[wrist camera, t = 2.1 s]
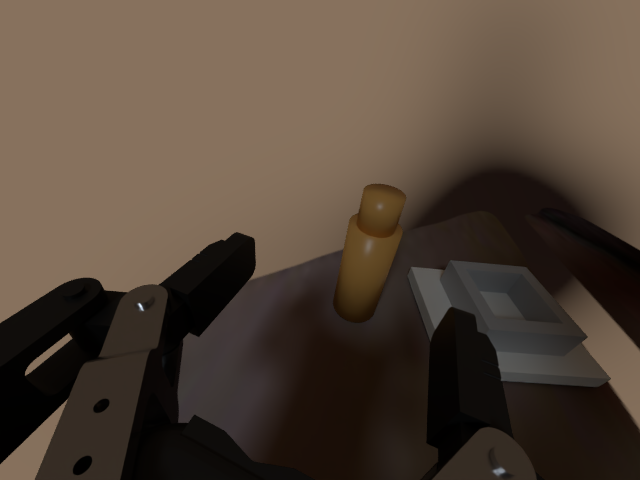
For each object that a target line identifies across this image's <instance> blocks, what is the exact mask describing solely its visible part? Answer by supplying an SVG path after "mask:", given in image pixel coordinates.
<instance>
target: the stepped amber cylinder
mask: <svg viewBox="0 0 640 480" xmlns="http://www.w3.org/2000/svg"><path fill="white" fill-rule="evenodd" d="M405 201H406V195H405V194H404V193H403V192H402V191H401V190H398V189H397V188H395V187H392V186H389V185H384V184H371V185H367V186H366V187H365V188H364V191H363V196H362V199H361V204H360V209H359V213H358V214H355V215H353V216H352V217H351V218H350V220H349V225H348V231H347V235H346V240H345V246H344V250H343V255H342V260H341V265H340V270H339V275H338V280H337V285H336V290H335V295H334V300H333V306H334V309H335V311H336V312H337V313H338V315H339V316H341V317H342V318H344V319H345V320H347V321H350V322H355V323H360V322H365V321H367V320H369V319H370V318H371V317H372V316H373V314H374V312H375V309H376V306H377V304H378V301H379V298H380V295H381V292H382V290H383V287H384V284H385V281H386V278H387V276H388V273H389V270H390V267H391V265H392V262H393V259H394V256H395V253H396V251H397V248H398V245H399V242H400V239H401V237H402V233H403V231H402V228H401V226H400V225H399V224H398V221H399V218H400V215H401V212H402V209H403V207H404V204H405Z"/></svg>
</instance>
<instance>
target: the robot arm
mask: <svg viewBox="0 0 640 480" xmlns="http://www.w3.org/2000/svg"><path fill="white" fill-rule="evenodd" d="M255 266H256V260H255V240H254V238H252V237H250V236H247V235H244V234H241V233H238V232H236V233H234V234H233V235H231V236H230V237H229V238H228V239H227V240H225V241H224V240H220V241H218V242H215V243H213V244H210V245H208V246H207V247H206V248H205V249H203V250H202V251H201V252H200V254H197V255H196V256H195V257H193V258H192V260H190V261H188V262H187V263H186V264H185V265H183V266H182V267H181V268H180V269H178V270H177V271H176V272H174V273H173V274H172V275H171V276H170V277H168V278H167V279H166V280H164V281H163V282H162V283H161V284H159V285H153V284H152V285H144V286H140V287H137V288H135V289H133V290H131V291H130V292H116V291H105V290H104V289H103V287H102V285H101V283H100V282H99V281H98V280H96V279H93V278H80V279H75V280H71V281H69V282H66V283H64V284H62V285H60V286H58V287H57V288H55V289H54V290H52V291H50V292H49V293H47V294H46V295H44V296H43V297H41V298H39V299H38V300H36V301H35V302H33V303H31V304H30V305H28V306H27V307H25V308H24V309H22V310H20V311H19V312H17V313H16V314H14V315H13V316H11V317H9V318H8V319H6V320H5V321H3V322H1V323H0V464H1V463H2V462H3V461H4V460H5V459H6V458H7V457H8V456H9V455H10V454H11V453H12V452H13V451H14V450H15V449H16V448H17V447H18V446H20V445H21V444H22V443H23V442H24V441H25V440H26V439H27V438H28V437H29V436H30V435H31V434H32V433H33V432H34V431H35V430H36V429H37V428H38V427H39V426H40V425H41V424H42V423H43V422H44V421H45V420H46V419H47V418H48V417H49V416H50V415H51V414H52V413H54V412H55V411H56V410H57V409H58V408H59V407H60V406H61V405H62V404H63V403H64V402H65V401H66V400H67V399H68V401H67V404H66V405H65V408H64V410H63V413H62V415H61V417H60V420H59V423H58V425H57V427H56V430H55V432H54V435H53V437H52V439H51V442H50V444H49V447H48V449H47V451H46V454H45V456H44V459H43V461H42V463H41V466H40V468H39V471H38V473H37V475H36V478H35V480H315V479H313V478H311V477H309V476H307V475H305V474H303V473H302V472H300V471H298V470H296V469H294V468H288V467H282V466H276V465H270V464H264V463H258V462H254V461H252V460H251V459H250V458H249V457H248V456H247V455H246V454H245V453H244V452H243V451H242V449H241V448H240V447H239V446H238V445H237V444H236V443H235V442H234V441H233V439H232V438H231V437H230V436H229V435H228V434H227V433H226V432H225V431H224V430H222V429H220V428H218V427H216V426H215V425H213V424H211V423H209V422H207V421H205V420H203V419H202V418H200V417H198V416H196V415H194V416H193V417H192V419H191V420H190V422H189V423H178V418H179V404H178V383H179V374H180V366H181V358H182V349H183V338H184V337H185V336H186V335H187V334H188V333H191V334H193V335H196V336H198V337H199V336H200V335H201V334H202V333H203V332H204V331H205V329H206V328H207V327H208V326H209V325H210V324H211V323H212V321H213V320H214V319H215V318H216V317H217V316H218V315H219V313H220V312H221V311H222V310H223V309H224V308H225V307H226V305H227V304H228V303H229V302H230V301H231V300H232V299H233V297H234V296H235V295H236V294H237V293H238V292H239V291H240V289H241V288H242V287H243V286H244V285H245V284H246V283H247V281H248V280H249V279H250V278H251V276H252V275H253V273H254V270H255ZM68 333H69V334H70V335H71V337H72V338H73V339H72V340H70V341H69V342H68V343H67V344H65V345H64V346H63V347H62V348H60V349H59V350H58V351H57V352H55V353H54V354H53V355H52V356H50V357H49V358H48V359H47V360H45V361H44V362H43V363H42V364H41V365H39V366H38V367H37V368H36V369H35V370H33V371H32V372H31V373H29V374H28V375H26V376H25V371H26V369H27V367H28V366H29V365H30V363H32V362H33V361H34V360H35V359H36V358H37V357H39V356H40V355H41V354H43V353H44V352H45V351H46V350H48V349H49V348H50V347H51V346H53V345H54V344H55V343H56V342H58V341H59V340H60V339H62V338H63V337H64V336H66V335H67V334H68ZM498 366H499V363H498V358H497V353H496V349H495V348H494V346H493V344H492V342H491V341H490V339H489V337H488V336H487V334H484V333H481V332H478V329H477V322H476V317H475V315H474V314H472V313H469V312H466V311H463V310H460V309H457V308H455V307H450V308H449V309H448V310H447V312H446V313H445V315H444V317H443V318H442V320H441V321H440V323H439V325H438V326H437V328H436V329H435V331H434V333H433V335H432V338H431V342H430V355H429V384H428V413H427V441H426V443H427V444H429V445H431V446H433V447H436V448H438V462H437V463H436V464H435V465H434V466H433V467H432V468H431V469H430V470H429V471H428V472H427V473H426V474H425V475H424V476H423V477H422V478H421V479H420V480H544V479H543V478H542V477H541V476H539V475H538V474H537V473H536V472H535V471H534V468H533V466H532V463H531V461H530V460H529V458H528V456H527V455H526V453H525V452H524V450H523V449H522V448H521V447H520V446H519V444H518V443H517V442H516V441H515V440H514V438H513V434H512V430H511V424H510V419H509V414H508V409H507V404H506V399H505V394H504V389H503V383H502V381H501V373H500V368H498Z"/></svg>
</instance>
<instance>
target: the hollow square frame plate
mask: <svg viewBox="0 0 640 480" xmlns="http://www.w3.org/2000/svg"><path fill="white" fill-rule="evenodd" d="M408 279H409V282H410V285H411V288H412V291H413V294H414V296H415V299H416V302H417V305H418V308H419V311H420V314H421V316H422V319H423V322H424V325H425V328H426V331H427V334H428V337H429V339H430V342H431V338H432V335H433V333H434V331H435V329H436V328H437V326H438V325H439V323H440V321H441V320H442V318H443V317H444V315H445V313H446V312H447V310H448V309H449V308H450V307H455V308H457V309H460V310H463V311H466V312H469V313H472V314H474V315H475V317H476V322H477V329H478V332H481V333H484V334H487V336H488V337H489V339H490V341H491V342H492V344H493V346H494V348H495V349H496V353H497V358H498V363H499V366H498V368H500V373H501V381H513V382H528V383H543V384H558V385H573V386H588V387H599V386H601V385H602V384H604V383H605V382H607V381H609V380H610V379H611V378H610V377H609V376H608V375H607V374H606V372H605V371H604V370H603V369H602V368H601V367H600V365H599V364H598V363H597V362H596V361H595V359H594V358H593V357H592V356H591V355H590V354H589V352H588V351H587V350H586V349H585V348H584V346H583V345H582V344H581V342H582V341H584V340H585V339H586V338H587V336H586V334H585V333H584V332H583V331H582V330H581V329H580V328H579V326H578V325H577V324H576V323H575V322H574V321H573V320H572V318H571V317H570V316H569V315H568V314H567V313H566V312H565V311H564V309H562V307H561V306H560V305H559V304H558V303H557V302H556V300H555V299H554V298H553V297H552V296H551V295H550V294H549V293H548V292H547V290H546V289H545V288H544V287H543V286H542V285H541V283H540V282H539V281H538V280H537V279H536V278H535V277H534V276H533V274H532V273H531V272H530V271H529V270H528V269H527V268H526V267H519V266H508V265H497V264H486V263H474V262H463V261H452V260H450V262H449V264H448V265H447V267H446V269H445V270H439V269H427V268H416V267H411V269H410V271H409V274H408Z"/></svg>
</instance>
